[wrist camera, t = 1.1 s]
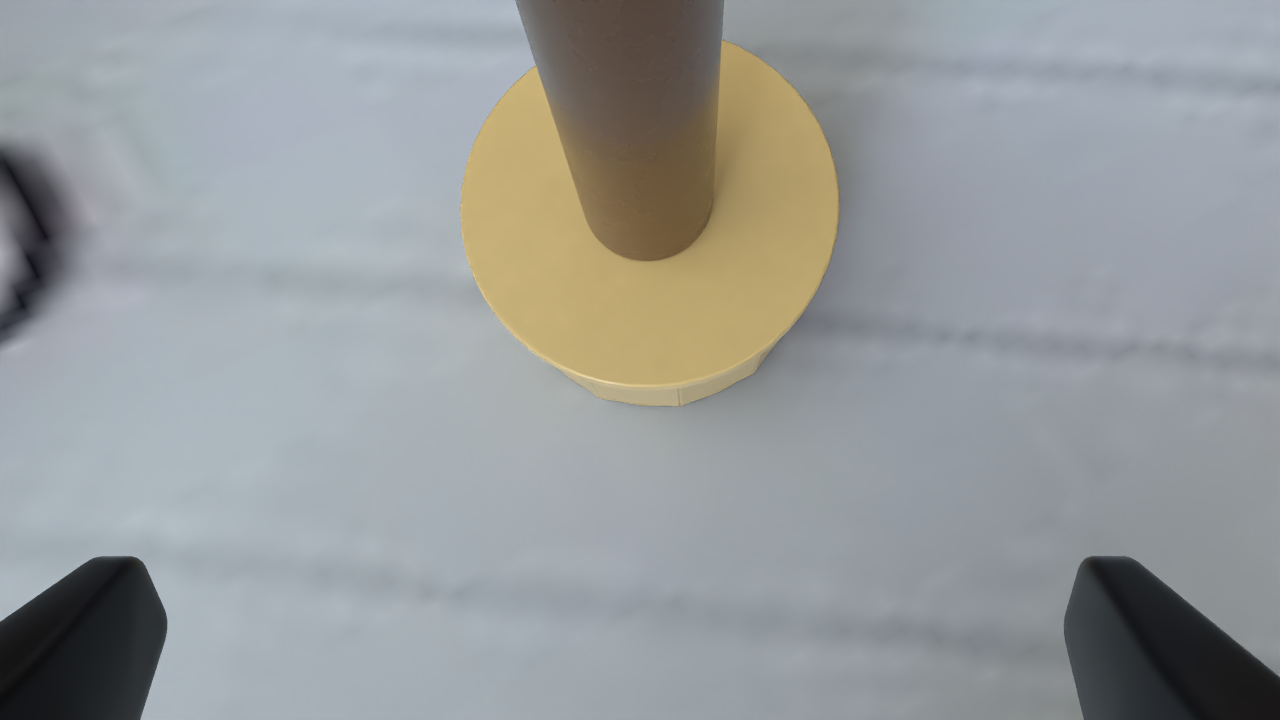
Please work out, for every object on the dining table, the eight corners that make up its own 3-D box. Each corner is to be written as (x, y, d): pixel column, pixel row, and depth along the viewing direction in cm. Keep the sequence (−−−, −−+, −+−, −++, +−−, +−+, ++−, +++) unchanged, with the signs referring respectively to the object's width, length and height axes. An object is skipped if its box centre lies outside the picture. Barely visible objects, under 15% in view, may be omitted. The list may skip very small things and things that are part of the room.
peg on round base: (903, 175, 21) (1113, -208, 10) (692, 470, 20) (691, 376, 9) (611, -10, 22) (536, -521, 11) (400, 260, 21) (110, -29, 11)
